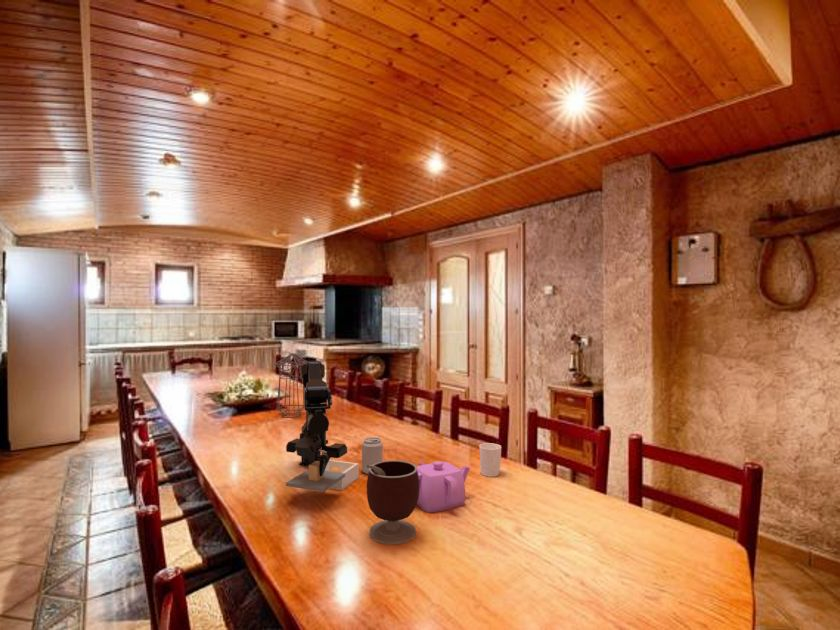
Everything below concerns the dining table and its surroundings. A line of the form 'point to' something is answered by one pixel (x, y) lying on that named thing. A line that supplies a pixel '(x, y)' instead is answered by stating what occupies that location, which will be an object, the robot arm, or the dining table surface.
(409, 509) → the mate gourd
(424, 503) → the teakettle
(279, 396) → the geometric lantern
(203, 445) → the dining table surface
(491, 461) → the white cup
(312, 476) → the lid
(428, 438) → the dining table surface
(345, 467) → the box
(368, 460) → the can
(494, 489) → the dining table surface
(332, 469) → the ball
